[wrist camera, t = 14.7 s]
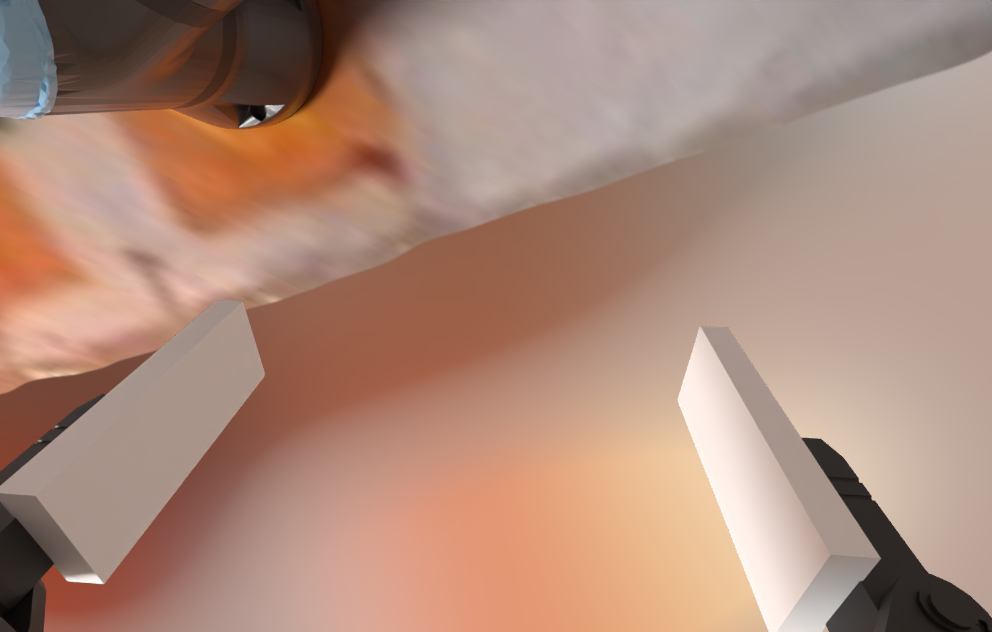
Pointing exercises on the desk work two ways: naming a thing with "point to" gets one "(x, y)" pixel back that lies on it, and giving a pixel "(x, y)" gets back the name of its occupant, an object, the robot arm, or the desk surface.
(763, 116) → the desk surface
